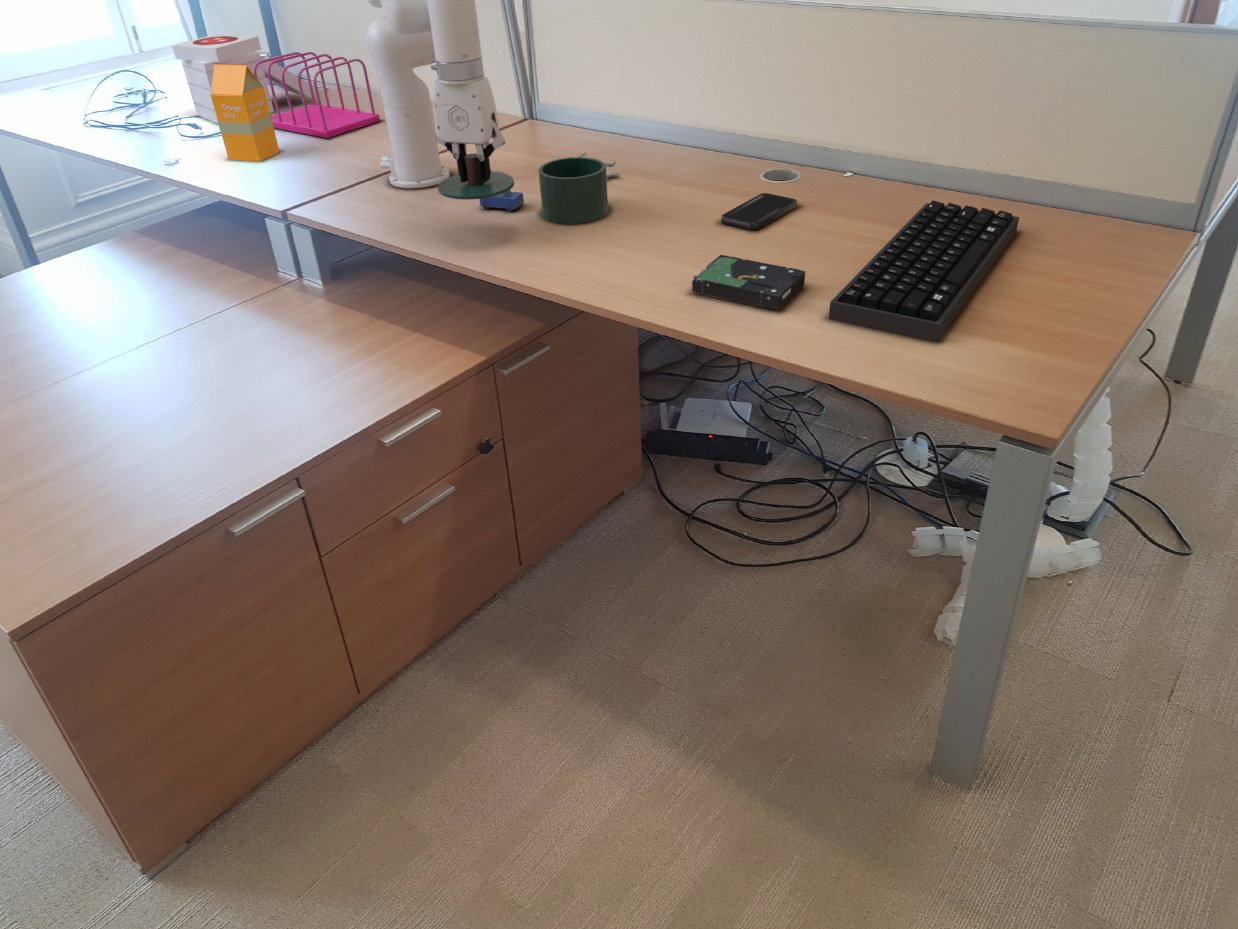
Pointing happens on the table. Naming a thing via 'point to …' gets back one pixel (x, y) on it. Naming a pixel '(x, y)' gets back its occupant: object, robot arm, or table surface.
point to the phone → (759, 211)
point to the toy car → (503, 201)
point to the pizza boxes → (228, 50)
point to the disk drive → (749, 282)
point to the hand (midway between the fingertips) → (475, 179)
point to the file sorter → (319, 102)
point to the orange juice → (242, 113)
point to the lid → (475, 183)
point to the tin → (573, 190)
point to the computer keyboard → (926, 271)
